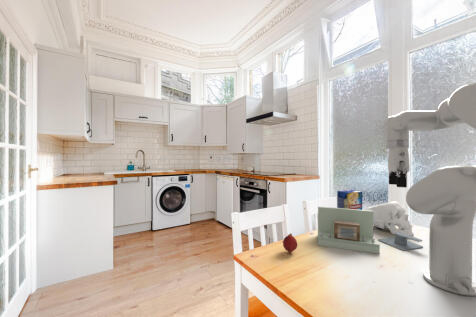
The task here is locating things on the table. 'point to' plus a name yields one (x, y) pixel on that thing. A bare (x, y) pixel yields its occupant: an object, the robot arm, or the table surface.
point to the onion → (290, 243)
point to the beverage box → (349, 199)
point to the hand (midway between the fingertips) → (397, 185)
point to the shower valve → (402, 241)
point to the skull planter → (391, 217)
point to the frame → (347, 230)
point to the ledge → (346, 215)
